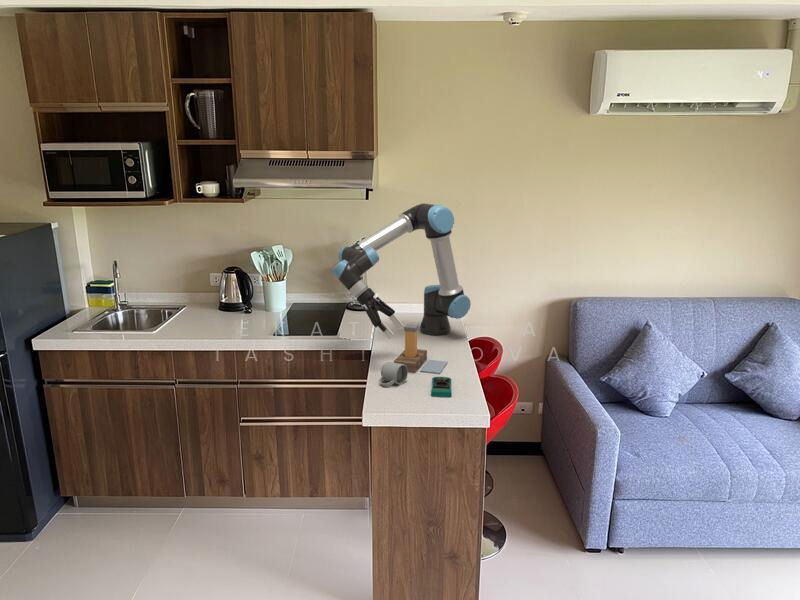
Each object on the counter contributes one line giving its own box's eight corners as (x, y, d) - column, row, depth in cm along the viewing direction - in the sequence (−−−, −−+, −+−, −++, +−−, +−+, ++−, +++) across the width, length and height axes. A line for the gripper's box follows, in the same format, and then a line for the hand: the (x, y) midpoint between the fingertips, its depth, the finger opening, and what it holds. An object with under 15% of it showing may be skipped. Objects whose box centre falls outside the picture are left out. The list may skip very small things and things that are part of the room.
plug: (406, 362, 251) (407, 323, 247) (417, 363, 250) (418, 325, 246) (403, 365, 247) (404, 327, 243) (414, 367, 245) (415, 328, 241)
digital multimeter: (451, 383, 229) (451, 376, 229) (451, 398, 215) (451, 390, 214) (432, 382, 230) (432, 375, 229) (430, 397, 215) (431, 390, 215)
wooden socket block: (406, 356, 258) (406, 347, 257) (426, 359, 255) (427, 350, 254) (393, 370, 241) (393, 361, 240) (415, 373, 238) (415, 363, 237)
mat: (429, 360, 253) (429, 359, 253) (447, 363, 250) (447, 361, 250) (420, 371, 240) (420, 370, 240) (439, 374, 238) (439, 372, 237)
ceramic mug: (391, 376, 234) (391, 358, 233) (408, 381, 230) (408, 362, 228) (374, 385, 226) (374, 365, 224) (391, 390, 221) (391, 370, 220)
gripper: (367, 292, 260) (399, 329, 259) (344, 305, 237) (380, 346, 236) (378, 281, 257) (411, 318, 256) (357, 293, 234) (393, 334, 233)
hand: (396, 331), depth 246 cm, fingers open, 13 cm apart
